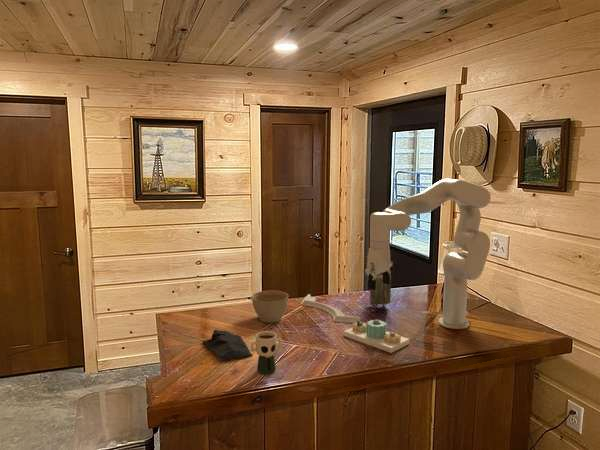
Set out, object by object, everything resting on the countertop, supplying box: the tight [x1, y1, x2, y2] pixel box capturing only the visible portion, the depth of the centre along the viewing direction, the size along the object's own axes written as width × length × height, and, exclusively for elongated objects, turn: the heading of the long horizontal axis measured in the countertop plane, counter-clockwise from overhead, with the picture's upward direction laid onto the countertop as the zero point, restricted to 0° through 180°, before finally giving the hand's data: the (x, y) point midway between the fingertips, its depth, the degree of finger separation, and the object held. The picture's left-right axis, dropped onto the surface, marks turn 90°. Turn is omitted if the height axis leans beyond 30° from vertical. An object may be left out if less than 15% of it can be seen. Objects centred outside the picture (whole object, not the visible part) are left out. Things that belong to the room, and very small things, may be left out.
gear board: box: [343, 319, 410, 354], centre depth 187 cm, size 12×23×8 cm, turn 45°
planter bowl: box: [251, 290, 289, 324], centre depth 209 cm, size 16×16×11 cm
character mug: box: [250, 330, 282, 375], centre depth 160 cm, size 11×7×13 cm, turn 113°
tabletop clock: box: [369, 272, 392, 313], centre depth 222 cm, size 14×9×25 cm, turn 172°
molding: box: [300, 293, 362, 324], centre depth 221 cm, size 42×12×3 cm, turn 33°
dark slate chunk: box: [202, 329, 253, 361], centre depth 179 cm, size 15×22×5 cm
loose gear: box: [366, 319, 387, 339], centre depth 187 cm, size 8×8×5 cm
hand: (379, 286), depth 187 cm, fingers open, 9 cm apart
